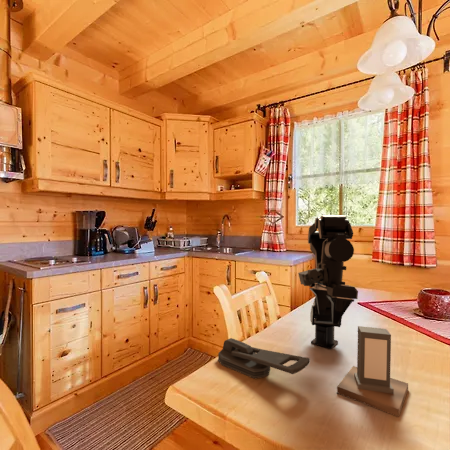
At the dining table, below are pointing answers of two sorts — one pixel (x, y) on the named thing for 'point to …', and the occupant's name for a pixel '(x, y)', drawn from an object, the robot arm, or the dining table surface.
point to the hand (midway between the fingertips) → (327, 319)
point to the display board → (374, 394)
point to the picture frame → (374, 360)
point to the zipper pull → (257, 359)
